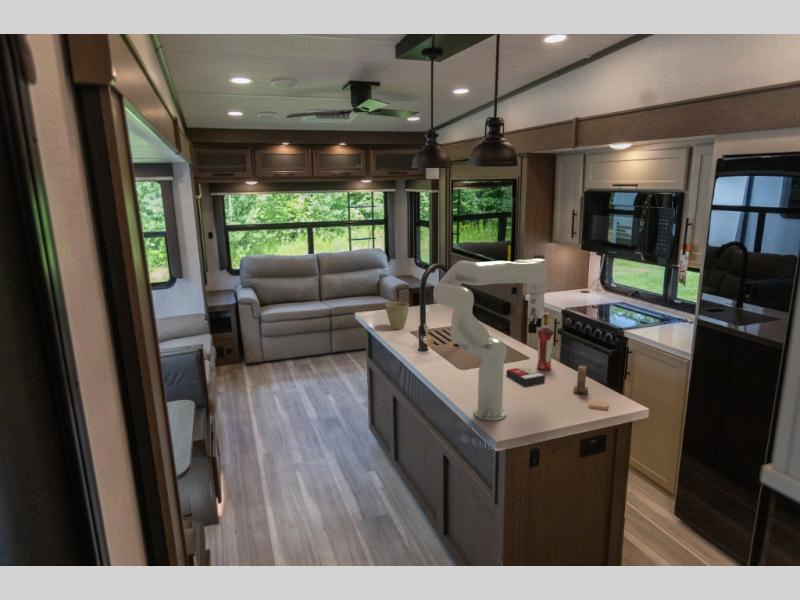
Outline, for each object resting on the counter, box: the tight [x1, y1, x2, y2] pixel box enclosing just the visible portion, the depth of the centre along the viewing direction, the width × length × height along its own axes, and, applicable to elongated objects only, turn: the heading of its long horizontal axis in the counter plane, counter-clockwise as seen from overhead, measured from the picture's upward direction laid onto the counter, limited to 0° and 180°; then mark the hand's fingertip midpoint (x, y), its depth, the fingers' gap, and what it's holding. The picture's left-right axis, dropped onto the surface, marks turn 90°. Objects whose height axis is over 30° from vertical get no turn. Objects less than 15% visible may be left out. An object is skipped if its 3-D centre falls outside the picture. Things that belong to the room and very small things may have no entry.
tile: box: [588, 398, 609, 411], centre depth 205 cm, size 2×7×6 cm
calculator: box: [506, 366, 546, 387], centre depth 235 cm, size 11×4×15 cm
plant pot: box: [385, 301, 410, 330], centre depth 322 cm, size 15×15×16 cm
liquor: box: [536, 312, 554, 371], centre depth 245 cm, size 7×7×28 cm
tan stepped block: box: [572, 365, 589, 396], centre depth 217 cm, size 3×6×12 cm, turn 63°
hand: (534, 329), depth 207 cm, fingers open, 9 cm apart
